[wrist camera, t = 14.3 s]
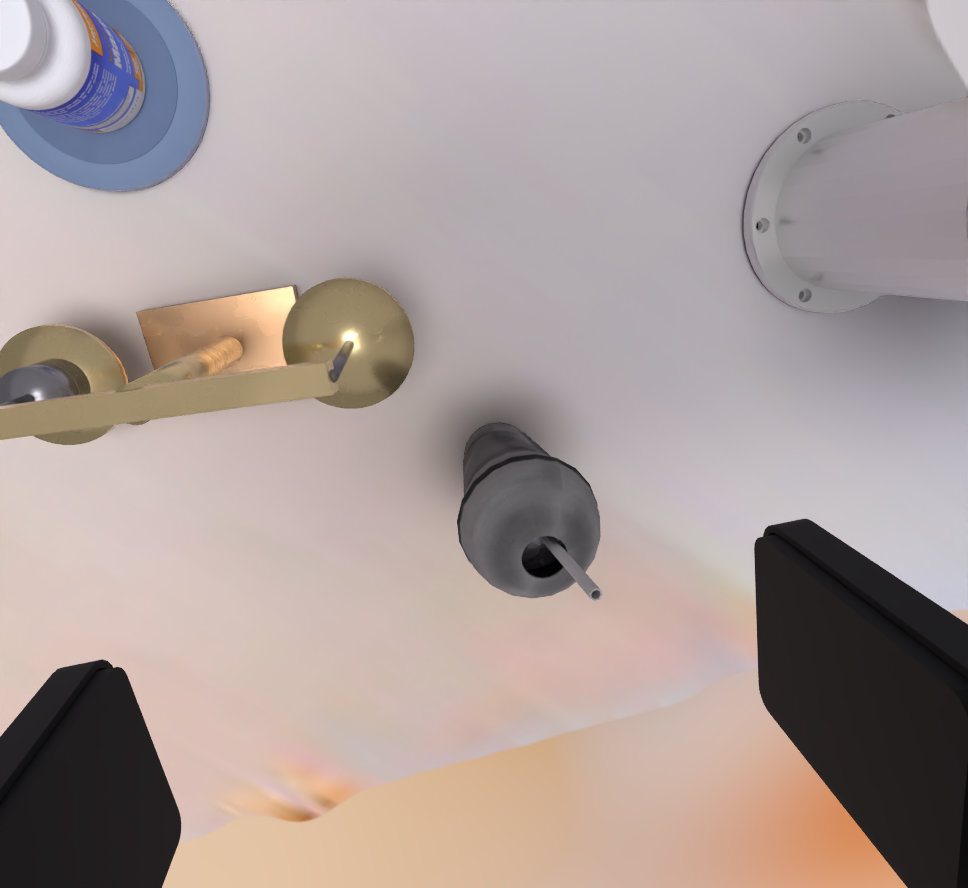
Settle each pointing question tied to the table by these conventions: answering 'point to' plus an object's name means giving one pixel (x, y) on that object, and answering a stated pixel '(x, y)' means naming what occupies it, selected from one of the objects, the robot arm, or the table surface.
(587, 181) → the table surface
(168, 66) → the dish
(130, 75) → the pill bottle
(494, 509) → the beverage cup
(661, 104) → the table surface
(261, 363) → the balance
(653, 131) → the table surface
